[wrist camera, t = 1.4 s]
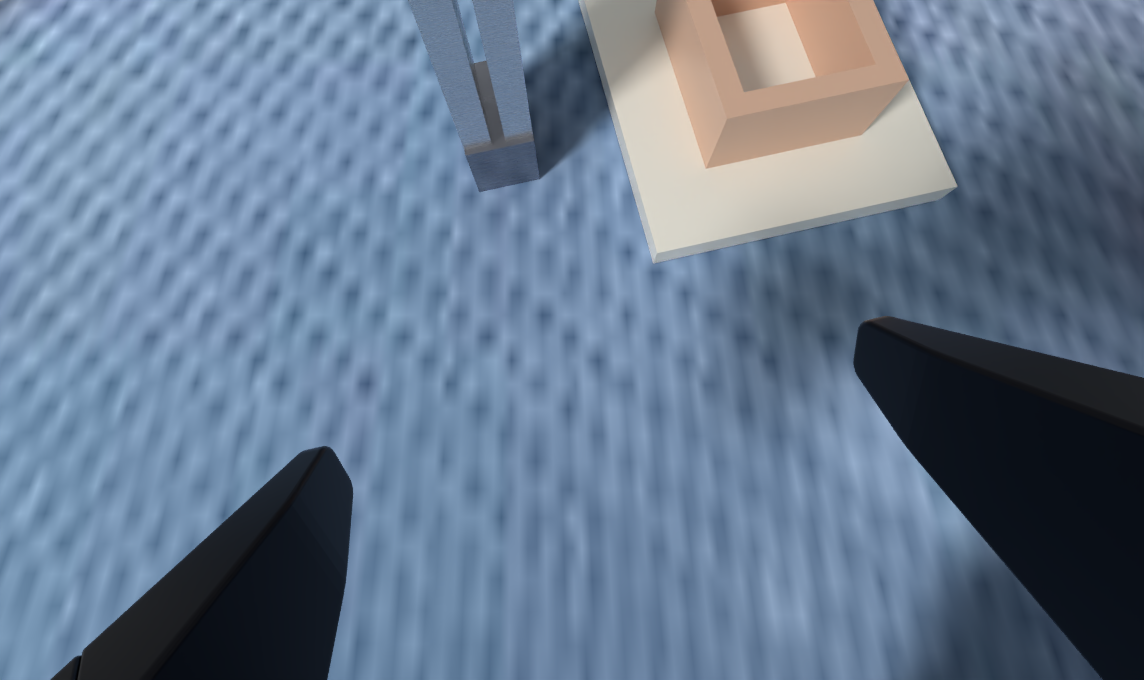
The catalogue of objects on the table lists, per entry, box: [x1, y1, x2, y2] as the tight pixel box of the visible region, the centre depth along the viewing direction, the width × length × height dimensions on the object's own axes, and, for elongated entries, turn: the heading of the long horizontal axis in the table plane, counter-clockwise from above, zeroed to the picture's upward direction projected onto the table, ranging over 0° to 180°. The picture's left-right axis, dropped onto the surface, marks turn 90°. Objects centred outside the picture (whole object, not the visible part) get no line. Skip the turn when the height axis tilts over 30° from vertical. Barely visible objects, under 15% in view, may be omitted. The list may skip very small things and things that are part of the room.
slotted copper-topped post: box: [408, 0, 540, 192], centre depth 19 cm, size 4×3×13 cm
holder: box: [578, 0, 958, 263], centre depth 23 cm, size 16×14×5 cm
